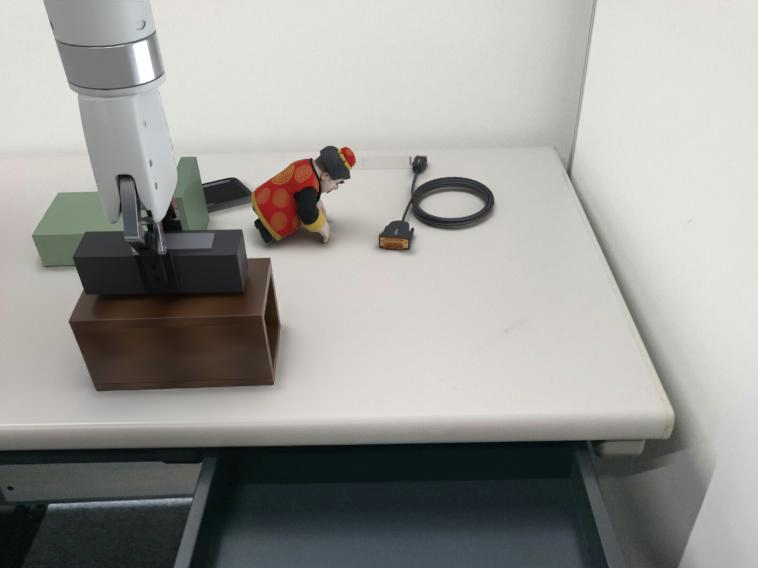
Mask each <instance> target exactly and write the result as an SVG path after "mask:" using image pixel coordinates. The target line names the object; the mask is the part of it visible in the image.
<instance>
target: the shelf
mask: <svg viewBox="0 0 758 568" xmlns="http://www.w3.org/2000/svg"><path fill="white" fill-rule="evenodd" d="M247 260H248V270H247V276H246V281H245V286H244V292H209V293H152V294H96V295H86V294H85V292H84V289H82V291H81V294H80V295H79V297H78V300H77V302H76V304H75V306H74V308H73V310H72V312H71V315H70V317H69V318H68V323H69V326H70V329H71V332H72V333H73V336H74V339H75V341H76V343H77V346H78V350H79V351H80V353H81V356H82V358H83V359H82V360H83V361H84V364H85V366H86V369H87V370H88V374H89V376H90V379H91V381H92V383H93V386H94V388H95V392H96V391H98V392H99V391H100V392H101V391H127V390H153V389H154V390H155V389H156V390H157V389H182V388H183V389H186V388H210V387H212V388H213V387H215V388H216V387H242V386H243V387H244V386H272V385H274V384H275V376H276V368H277V361H278V360H277V359H278V351H279V345H280V343H279V342H280V335H281V328H282V327H281V326H282V323H281V318H280V311H279V305H278V297H277V292H276V285H275V278H274V272H273V267H272V266H273V264H272V258H271V257H247Z"/></svg>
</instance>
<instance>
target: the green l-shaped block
mask: <svg viewBox="0 0 758 568" xmlns="http://www.w3.org/2000/svg"><path fill="white" fill-rule="evenodd" d="M176 167H177V184H176V188H175V191H174V194H173V195H174V198H175V201H176V204H177V207H178V212H179V218H178V219H174V220H181V225H182V229H183V230H207V227H208V224H209V221H210V215H209V213H208V210H207V205H206V200H205V196H204V191H203V186H202V184H203V181H202V177H201V171H200V168H199V163H198V158H197V156H180V157H179V160H178V163H177V164H176ZM141 216H147V213H146V210H141ZM142 227H143V229H144V230H145V231H148V229H147V225H142ZM89 231H124V228H123V216H122V214H121V217H120V219H119V221H118V222H116V223H115V224H111V223H110V222H109V221H108V220H107V219H106V218H105V215H104V212H103V208H102V204H101V201H100V197H99V193H98V191H67V192H66V191H65V192H57V193H56V195H55V197H54V198H53V199H52V202H51V203H50V205H49V206H48V208H47V210H46V211H45V213H44V215H43V216H42V217H41V219H40V221H39V223H38V224H37V226H36V228H35V229H34V230H33V232H32V233H31V238H32V241H33V243H34V245H35V248H36V250H37V253H38V256H39V258H40V261H41V262H42V265H43V267H66V266H68V267H69V266H75V264H74V261H73V258H72V257H73V255H74V253H75V251H76V249H77V247H78V245H79V243H80V241H81V239H82V237H83V235H84V233H85V232H89Z"/></svg>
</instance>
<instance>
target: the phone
mask: <svg viewBox="0 0 758 568" xmlns="http://www.w3.org/2000/svg"><path fill="white" fill-rule="evenodd" d="M202 186H203V191H204V196H205V200H206V205H207V210H208V214H211V213H214V212H219V211H223V210H225V209H230V208H231V209H232V208H234V207H239V206H243V205H247V204H252V202H251V193H252V192H253V191H251V190H250V189H249V188H248V186H246V185H245V184H244V183H243V182H242V181H241V180H240V179H239V178H237V177H234V176H233V177H231V176H230V177H225V178H221V179H216V180H211V181H207V182H204V183H203V182H202Z"/></svg>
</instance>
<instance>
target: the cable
mask: <svg viewBox="0 0 758 568" xmlns="http://www.w3.org/2000/svg"><path fill="white" fill-rule="evenodd" d="M427 163H428V156H427V155H422V154H417V155H415V156H414V158H413V161H412V163H411V168H412V171H413V172H414V176H413V178H412V183H411V188H410V190H411V191H410V193H411V197H410V199H409V201H408V203H407V205H406V208H405V210H404V212H403V215H402V218H401V220H400V219H399V220H397V219H396V220H392V221H390V222H389V223H388V225H387V224H386V225H385V227H384V229H383V231H381V232H380V233H379V235H378V247H379V248H384V249H396V250H410V249H411V242H412V238H413V236H414V233H415V227H410V223H409V222H408V221H406V217H407V215H408V212H409V209H410V208H411V211H412V214H414V216H415V217H416V218H418V220H420V221H422V222H424V223H426V224H429V225H433V226H437V227H445V228H448V227H450V228H451V227H462V226H466V225H470V224H473V223H476V222H478V221H480V220H482V219H484V218H485V217H487V216H488V214H490V213H491V212H492V210H493V209H494V206H495V201H496V200H495V196H494V193H493V191H492V190H491V189H490V188H489V186H487V185H486V184H484V183H482V182H481V181H478V180H476V179H473V178H468V177H463V176H444V177H438V178H434V179H431V180H430V179H429V180H428V181H426V182H423V183H422V184H420V185H419V186H417V187H416V188H415V184H416V180H417V177H418V173H421V172H422V171H423V170H424V169H425V167H426V165H427ZM445 188H460V189H461V188H462V189H467V190H470V191H473V192H475V193H477V194H479V195H480V196H481V197H482V198H483V200H484V203H485V204H484V206H483V207H482V208H481V209H480V210H478V211H477V212H475V213H472V214H470V215H466V216H460V217H442V216H438V215H433V214H430V213H428V212H426V211H424V210H423V208H422V207H420V205H419V202H420V200H421V198H422V197H423V196H425V195H426V194H428V193H430V192H432V191H435V190H439V189H445Z"/></svg>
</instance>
